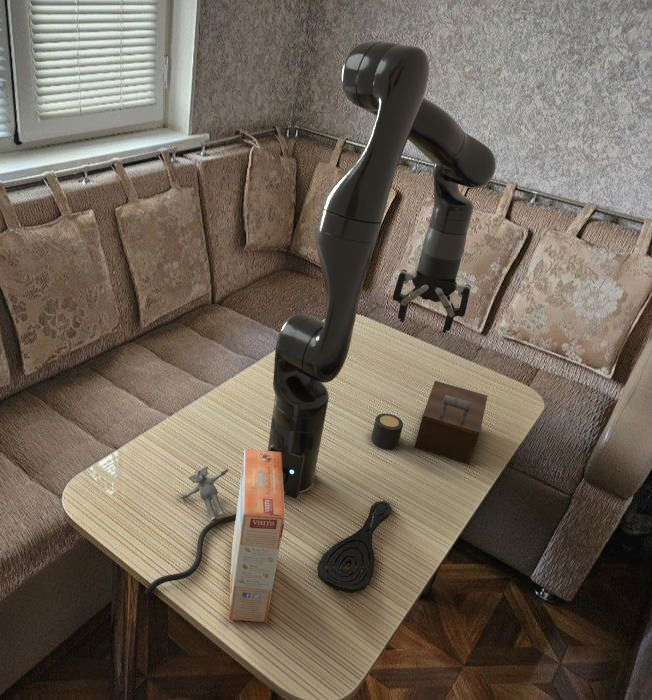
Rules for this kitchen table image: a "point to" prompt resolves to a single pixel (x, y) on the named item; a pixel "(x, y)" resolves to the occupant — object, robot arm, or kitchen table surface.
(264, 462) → the cracker box
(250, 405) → the kitchen table surface
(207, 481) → the elephant figurine
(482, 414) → the lid
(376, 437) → the dark grey short cylinder
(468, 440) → the box
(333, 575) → the hairbrush
